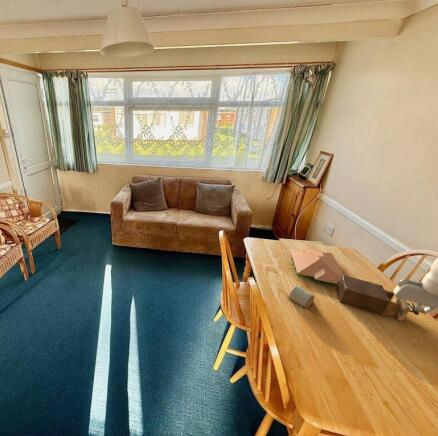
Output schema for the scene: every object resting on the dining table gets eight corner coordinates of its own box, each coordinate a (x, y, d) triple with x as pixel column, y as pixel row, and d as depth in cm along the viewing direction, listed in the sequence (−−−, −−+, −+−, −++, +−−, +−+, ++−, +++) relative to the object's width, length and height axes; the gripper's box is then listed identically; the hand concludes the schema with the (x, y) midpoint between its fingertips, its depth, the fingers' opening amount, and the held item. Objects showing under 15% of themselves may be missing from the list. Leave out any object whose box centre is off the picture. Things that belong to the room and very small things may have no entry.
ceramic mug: (305, 312, 104) (310, 299, 100) (286, 301, 110) (291, 288, 106) (315, 302, 109) (320, 289, 106) (296, 292, 115) (301, 280, 112)
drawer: (406, 309, 104) (415, 296, 100) (415, 326, 96) (424, 312, 92) (356, 294, 112) (362, 282, 109) (360, 309, 104) (367, 296, 101)
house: (296, 281, 123) (300, 268, 119) (288, 250, 150) (291, 239, 147) (348, 292, 115) (354, 279, 111) (329, 257, 142) (334, 246, 139)
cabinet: (373, 300, 110) (382, 285, 106) (380, 317, 101) (389, 301, 97) (336, 289, 117) (342, 274, 112) (338, 304, 108) (346, 288, 104)
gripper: (404, 282, 94) (389, 306, 100) (481, 301, 84) (459, 328, 90) (399, 273, 99) (385, 297, 105) (471, 291, 89) (451, 316, 95)
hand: (420, 311), depth 97 cm, fingers closed
